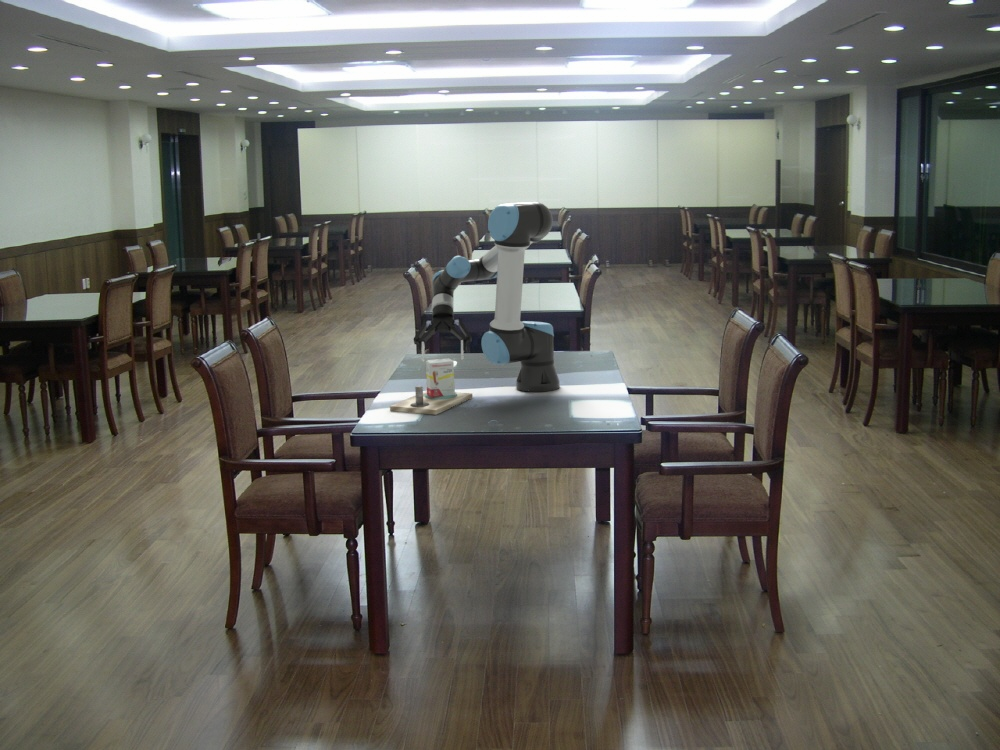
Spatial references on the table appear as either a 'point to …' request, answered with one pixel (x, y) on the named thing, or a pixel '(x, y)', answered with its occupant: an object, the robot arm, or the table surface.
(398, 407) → the board
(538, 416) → the table surface
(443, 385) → the ink box
